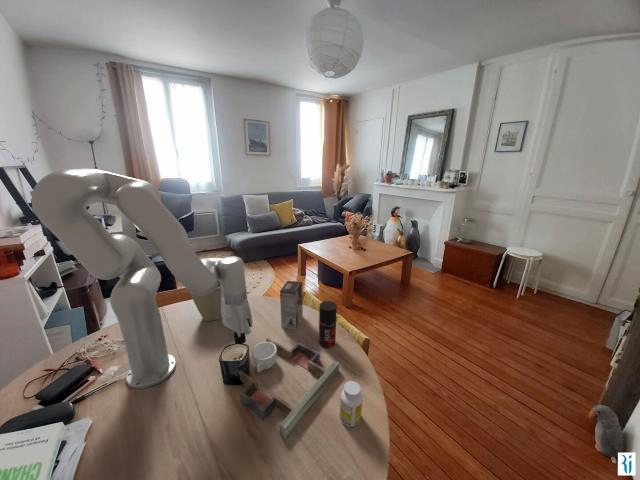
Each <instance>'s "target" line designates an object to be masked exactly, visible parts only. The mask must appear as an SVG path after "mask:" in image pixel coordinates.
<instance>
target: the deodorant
mask: <svg viewBox="0 0 640 480" xmlns="http://www.w3.org/2000/svg"><path fill="white" fill-rule="evenodd" d="M318 307H319V310H318V314H319V315H318V316H319V317H318V345H319V346H320V347H321V348H323V349H331V348H333V347H335V345H336V337H337V336H336V335H337V334H336V333H337V310H338V305H337V304H336V302H335V301H331V300H324V301H322V302H320V303H319V306H318Z"/></svg>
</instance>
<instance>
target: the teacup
mask: <svg viewBox="0 0 640 480" xmlns="http://www.w3.org/2000/svg"><path fill="white" fill-rule="evenodd" d="M277 356H278V353H277V348H276V346H275V344H273V343H271V342H266V341H262V342H259V343H257V344H256V345H254V347H253V348H252V350H251V360H252V363H253V366H255V368H256V372H257V373H261V371H265V370H266V371H267V370H269V369H271V368H272V367H273V366H274V365H275V363H276V361H277Z"/></svg>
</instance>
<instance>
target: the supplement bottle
mask: <svg viewBox="0 0 640 480" xmlns="http://www.w3.org/2000/svg"><path fill="white" fill-rule="evenodd" d="M361 391H362V390H361V385H360V384H359V383H358V382H356V381H355V380H350V381H349V380H348V381H347V382H346V383H344V385H343V389H342V391H341V393H340V402H339V403H340V404H339V405H340V406H339V419H340V422H341V423H342V424H343V425H344V426H347V427H348V428H350V427H351V428H352V427H356V426H358V425H359V423H360V422H361V418H362V408H363V394H362V392H361Z"/></svg>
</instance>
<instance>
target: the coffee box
mask: <svg viewBox="0 0 640 480" xmlns="http://www.w3.org/2000/svg"><path fill="white" fill-rule="evenodd" d="M279 297H280V298H279V299H280V300H279V302H280V303H279V304H280V323H281V325H280V327H281V328H283V329H290V330H297V329H298V328H299V325H300V322H301V321H302V318H303V315H304V314H303V312H304V311H303V309H304V307H303V303H304V302H303V282H302V281H296V280H295V281H294V280H293V281H291V280H287V281H286V282H285V284H284V285H283V287H282V288H281V289H280V290H279Z"/></svg>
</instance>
